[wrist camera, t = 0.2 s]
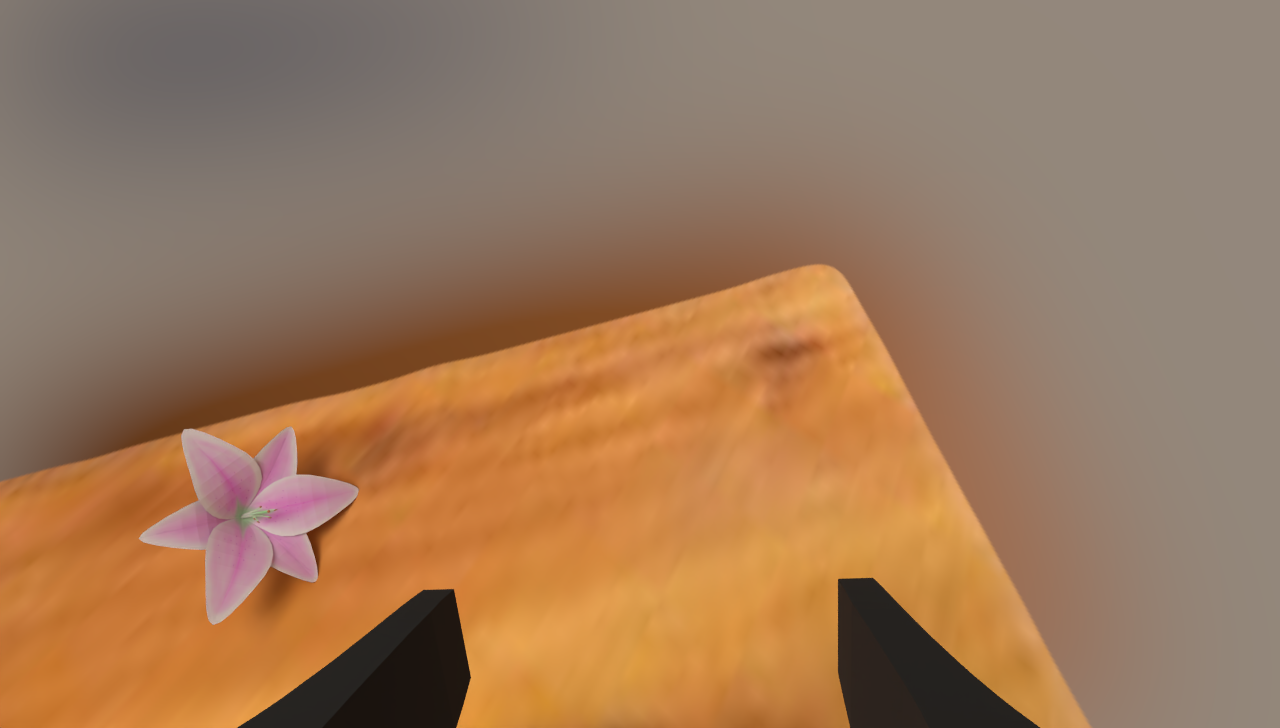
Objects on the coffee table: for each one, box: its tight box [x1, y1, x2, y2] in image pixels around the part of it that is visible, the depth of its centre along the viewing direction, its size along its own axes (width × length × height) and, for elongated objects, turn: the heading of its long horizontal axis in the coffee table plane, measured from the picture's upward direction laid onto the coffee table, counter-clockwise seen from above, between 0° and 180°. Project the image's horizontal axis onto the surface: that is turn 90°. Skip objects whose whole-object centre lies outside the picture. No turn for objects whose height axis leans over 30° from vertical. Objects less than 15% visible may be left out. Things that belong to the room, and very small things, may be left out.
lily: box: [139, 427, 359, 625], centre depth 44 cm, size 12×12×10 cm
